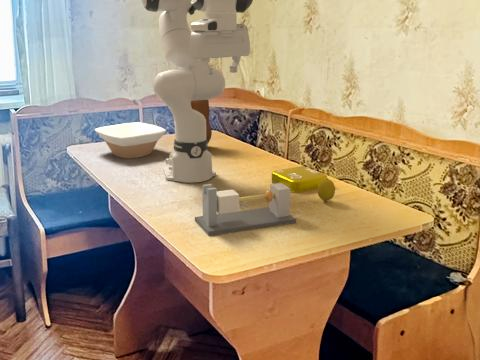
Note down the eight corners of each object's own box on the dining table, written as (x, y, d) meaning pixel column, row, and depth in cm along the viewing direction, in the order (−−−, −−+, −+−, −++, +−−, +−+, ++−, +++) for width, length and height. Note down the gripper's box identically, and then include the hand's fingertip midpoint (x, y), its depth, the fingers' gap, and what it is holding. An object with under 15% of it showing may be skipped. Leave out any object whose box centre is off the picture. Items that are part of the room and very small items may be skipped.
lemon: (313, 200, 190) (315, 176, 188) (328, 198, 192) (330, 175, 190) (322, 205, 185) (323, 181, 183) (337, 203, 187) (338, 179, 185)
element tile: (329, 187, 205) (329, 174, 203) (294, 194, 197) (294, 180, 196) (302, 176, 217) (303, 164, 215) (269, 182, 209) (269, 169, 208)
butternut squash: (176, 147, 256) (174, 90, 249) (204, 144, 262) (203, 88, 255) (188, 154, 244) (187, 94, 237) (217, 151, 250) (217, 92, 243)
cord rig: (194, 220, 172) (194, 181, 168) (277, 209, 182) (279, 172, 178) (208, 235, 161) (208, 194, 157) (295, 222, 171) (297, 183, 167)
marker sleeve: (213, 208, 169) (213, 191, 167) (232, 205, 171) (232, 189, 170) (219, 214, 164) (219, 197, 163) (239, 211, 167) (239, 194, 165)
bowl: (90, 153, 245) (89, 128, 242) (140, 144, 261) (139, 121, 258) (120, 165, 228) (119, 138, 225) (172, 154, 244) (171, 129, 241)
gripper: (240, 23, 175) (240, 70, 178) (185, 24, 161) (187, 75, 165) (255, 23, 170) (254, 71, 174) (200, 24, 157) (201, 76, 161)
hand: (221, 73), depth 169 cm, fingers open, 8 cm apart
